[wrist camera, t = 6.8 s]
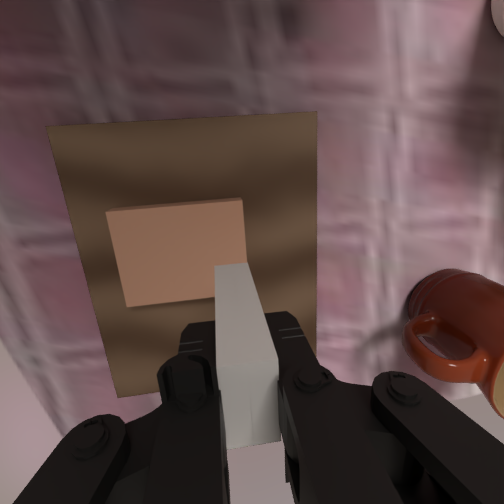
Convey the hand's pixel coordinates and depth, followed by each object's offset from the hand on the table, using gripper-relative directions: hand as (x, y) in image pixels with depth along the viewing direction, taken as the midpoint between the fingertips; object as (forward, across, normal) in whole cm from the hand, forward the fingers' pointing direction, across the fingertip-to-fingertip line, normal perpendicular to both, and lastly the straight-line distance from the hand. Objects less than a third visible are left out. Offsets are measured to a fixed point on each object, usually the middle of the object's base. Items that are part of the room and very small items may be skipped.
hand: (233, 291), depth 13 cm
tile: (+9, +1, -1) cm, 9 cm away
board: (+11, -2, -3) cm, 11 cm away
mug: (+11, +18, -9) cm, 23 cm away
